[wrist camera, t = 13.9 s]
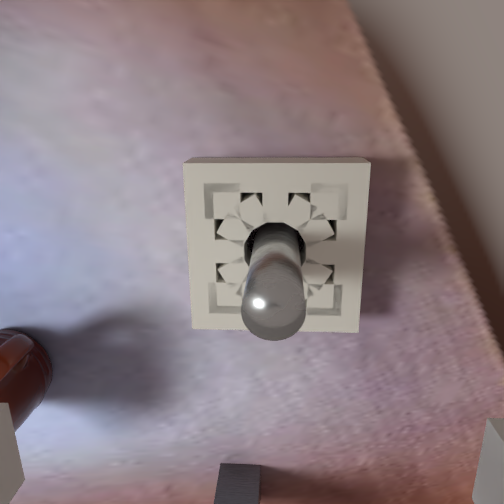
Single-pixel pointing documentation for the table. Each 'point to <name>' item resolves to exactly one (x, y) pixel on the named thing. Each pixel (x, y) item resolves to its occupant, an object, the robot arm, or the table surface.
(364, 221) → the bore block
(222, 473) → the square bit
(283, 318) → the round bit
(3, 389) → the mug
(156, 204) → the table surface
